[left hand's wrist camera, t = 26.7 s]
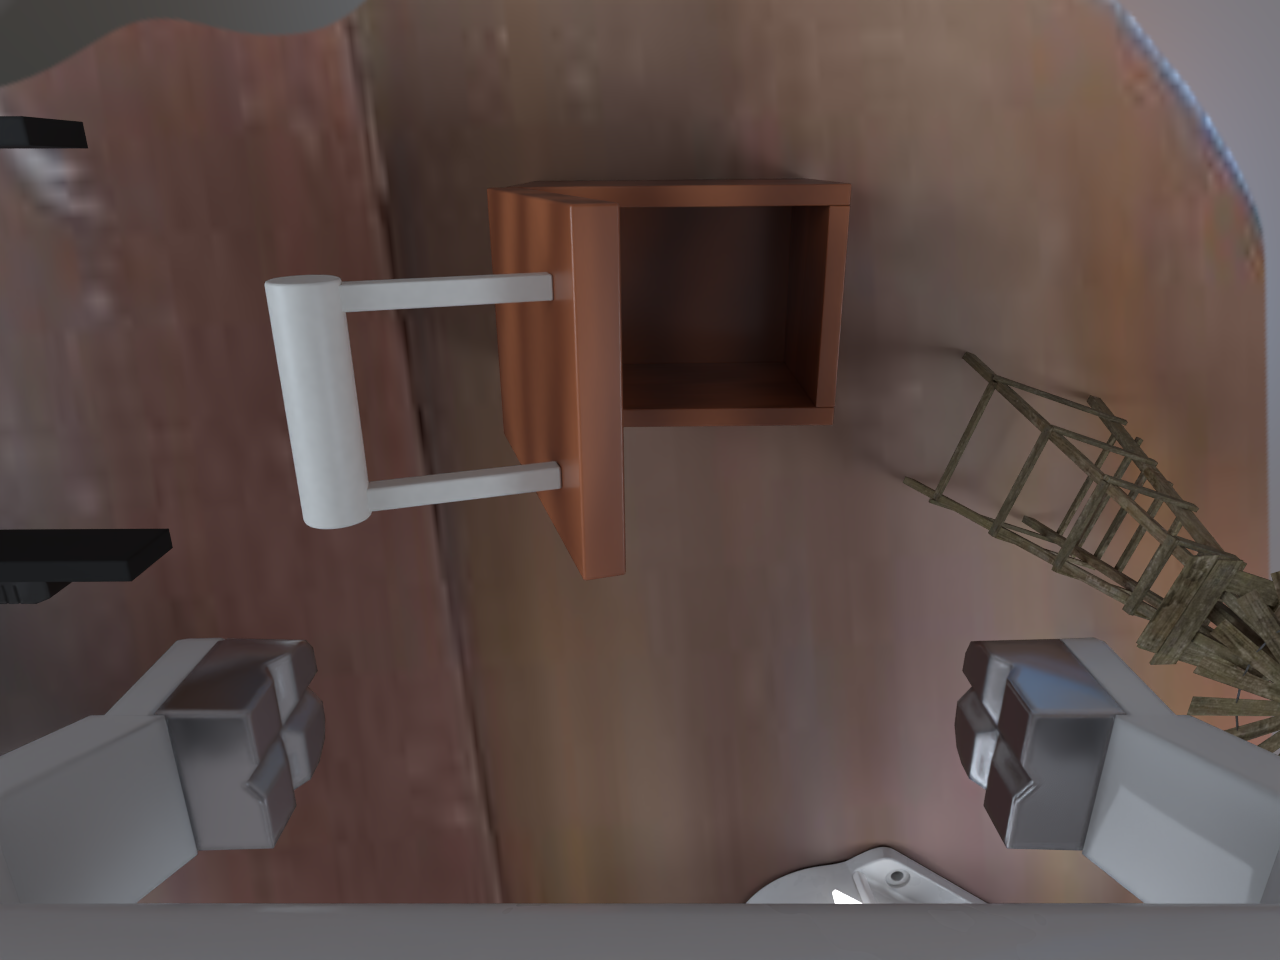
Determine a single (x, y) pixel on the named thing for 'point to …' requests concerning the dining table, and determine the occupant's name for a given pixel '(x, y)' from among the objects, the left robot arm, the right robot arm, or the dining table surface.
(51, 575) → the right robot arm
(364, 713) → the dining table surface
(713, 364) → the open box
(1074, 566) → the miniature windmill
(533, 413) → the wooden panel with handle
